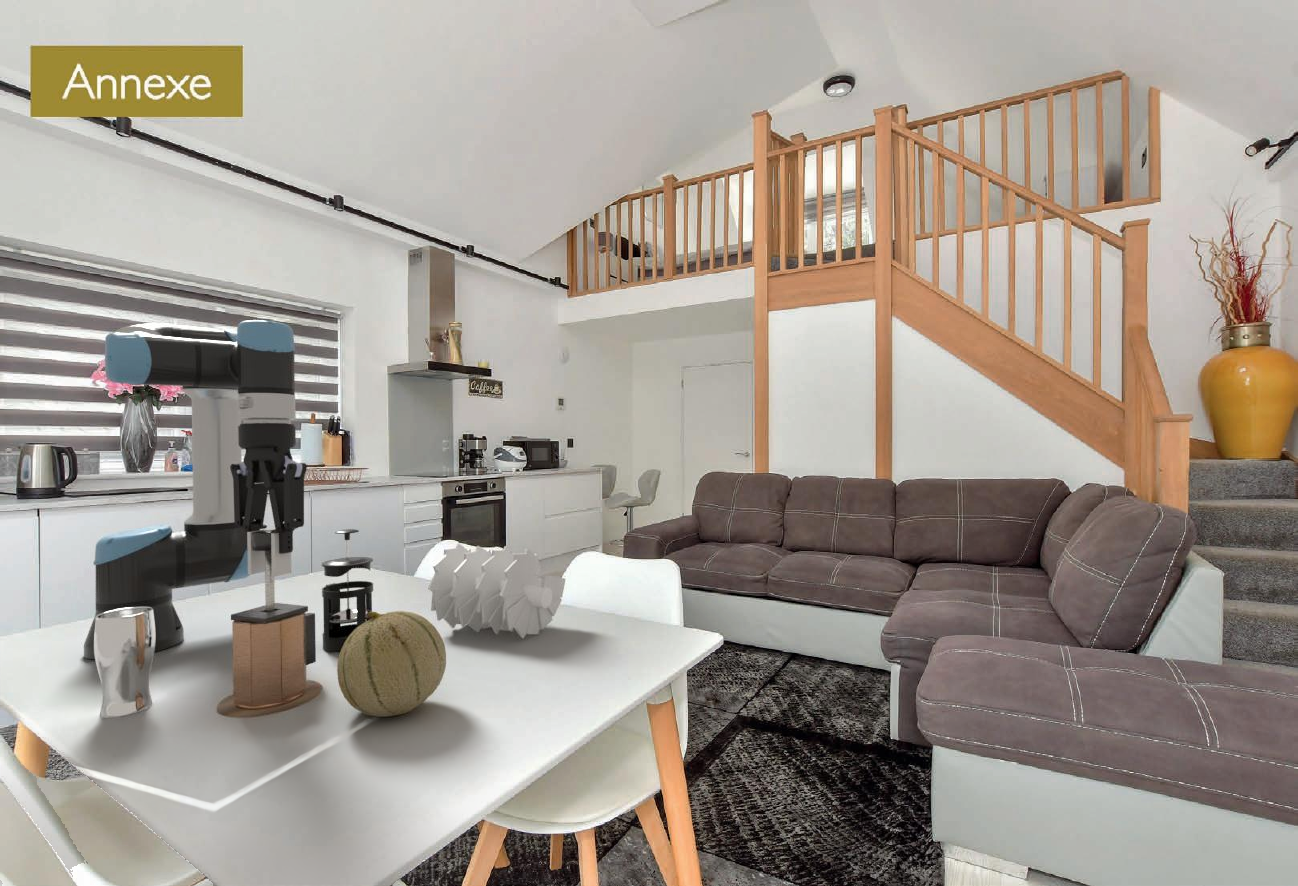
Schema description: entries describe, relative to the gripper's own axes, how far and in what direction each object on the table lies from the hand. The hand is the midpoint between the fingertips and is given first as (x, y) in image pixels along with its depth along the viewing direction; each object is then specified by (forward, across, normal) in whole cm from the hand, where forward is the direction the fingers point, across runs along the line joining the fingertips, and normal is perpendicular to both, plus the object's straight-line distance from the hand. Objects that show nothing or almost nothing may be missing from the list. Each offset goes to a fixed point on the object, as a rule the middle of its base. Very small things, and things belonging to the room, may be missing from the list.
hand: (269, 573), depth 94 cm
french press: (+20, -9, +23) cm, 32 cm away
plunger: (+14, 0, 0) cm, 14 cm away
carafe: (+19, 0, +1) cm, 19 cm away
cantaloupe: (+20, +21, +3) cm, 29 cm away
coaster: (+20, 0, 0) cm, 20 cm away
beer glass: (+20, -17, -10) cm, 28 cm away
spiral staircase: (+20, +13, +41) cm, 47 cm away
